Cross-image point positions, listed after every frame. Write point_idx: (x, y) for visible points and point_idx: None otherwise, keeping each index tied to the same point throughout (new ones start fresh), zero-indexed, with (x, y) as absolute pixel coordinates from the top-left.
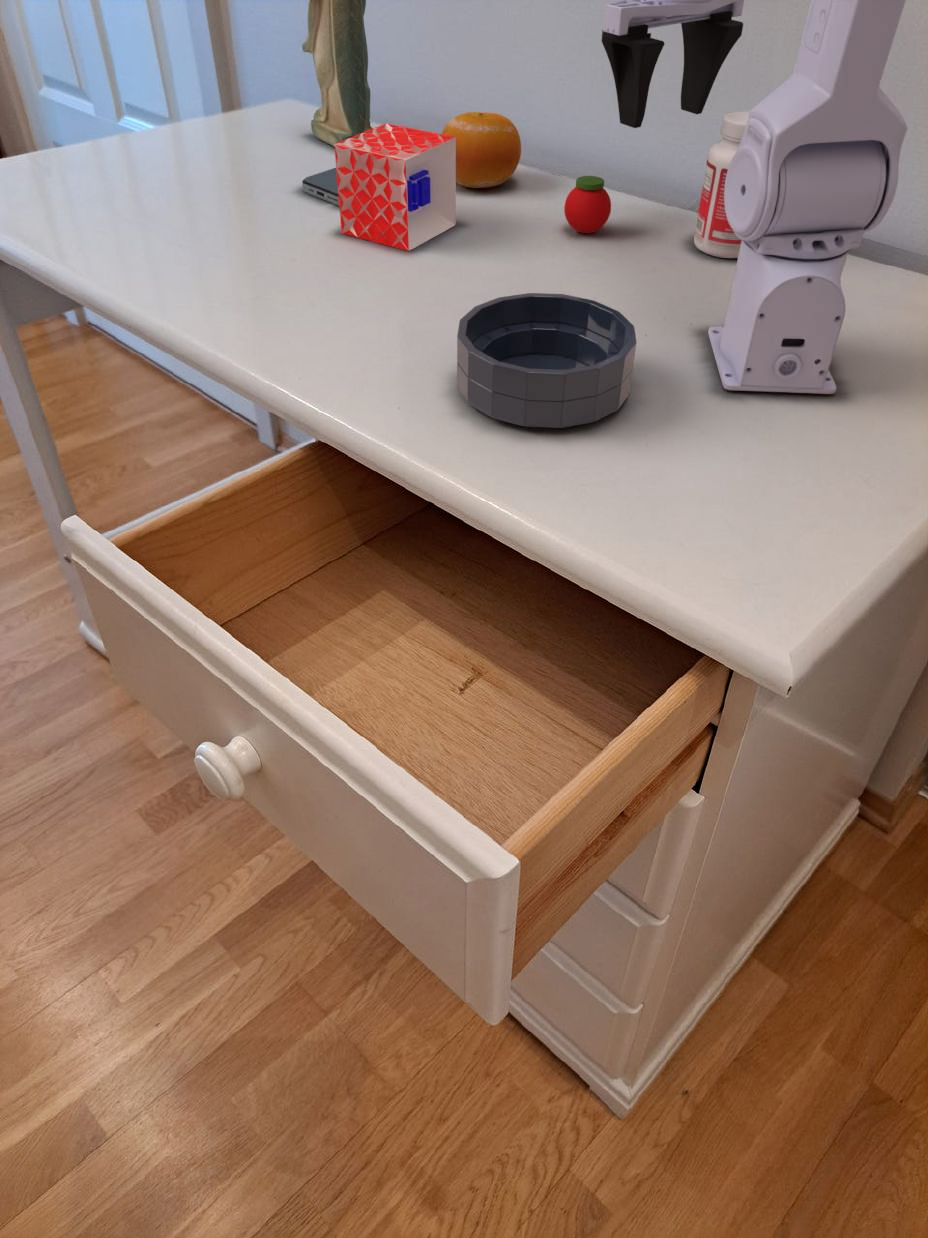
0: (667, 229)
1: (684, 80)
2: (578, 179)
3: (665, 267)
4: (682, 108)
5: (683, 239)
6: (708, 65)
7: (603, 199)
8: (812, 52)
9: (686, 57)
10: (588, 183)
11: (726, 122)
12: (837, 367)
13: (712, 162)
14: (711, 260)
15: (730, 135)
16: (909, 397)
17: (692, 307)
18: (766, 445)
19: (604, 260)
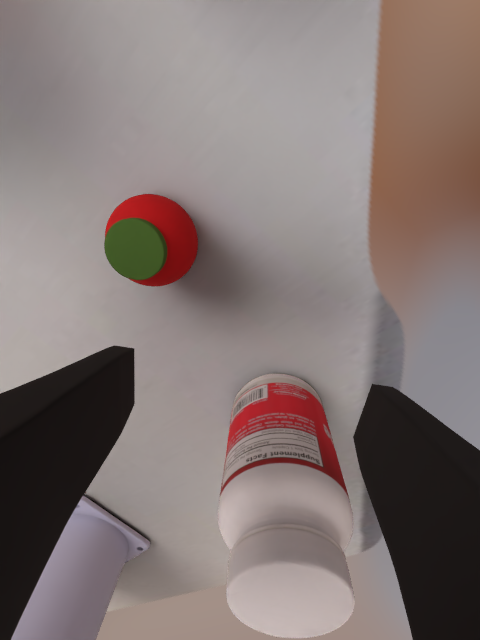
0: (276, 320)
1: (412, 438)
2: (116, 229)
3: (164, 391)
4: (372, 389)
5: (260, 357)
6: (411, 590)
7: (148, 284)
8: None
9: (472, 506)
10: (117, 261)
11: (232, 575)
12: (130, 566)
13: (223, 492)
14: (227, 415)
15: (228, 563)
16: (136, 601)
17: (110, 459)
18: None
19: (113, 328)
